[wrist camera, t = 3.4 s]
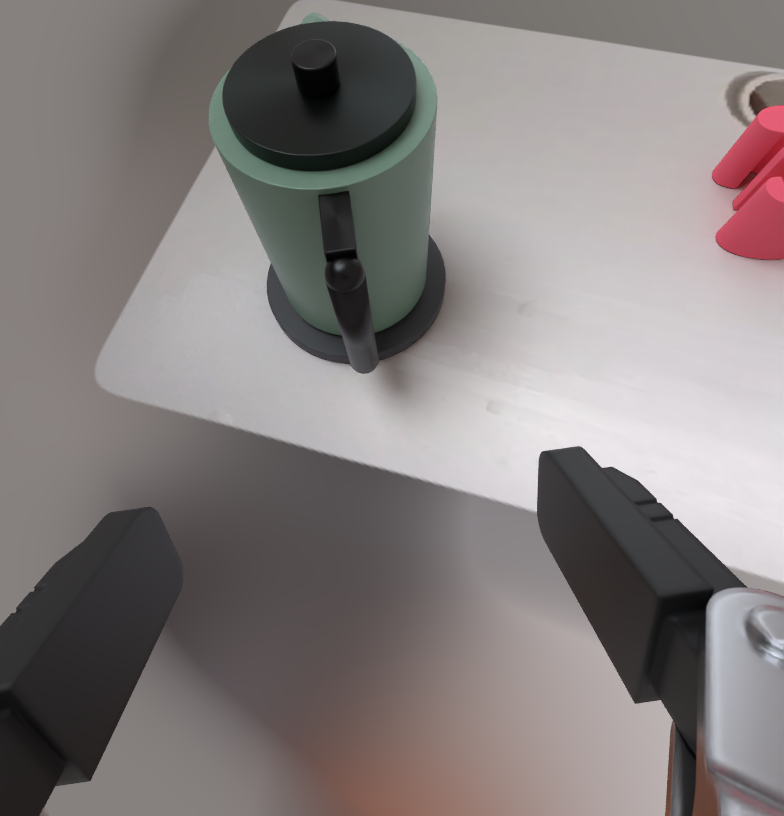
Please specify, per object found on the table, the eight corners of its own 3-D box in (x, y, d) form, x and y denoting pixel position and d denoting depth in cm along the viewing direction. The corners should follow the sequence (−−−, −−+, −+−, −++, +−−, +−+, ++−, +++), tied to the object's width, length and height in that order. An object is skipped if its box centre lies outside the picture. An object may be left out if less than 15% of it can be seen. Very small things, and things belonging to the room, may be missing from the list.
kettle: (448, 379, 29) (486, 213, 15) (291, 402, 29) (178, 256, 15) (407, 171, 35) (406, -83, 21) (279, 189, 35) (192, -55, 21)
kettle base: (395, 393, 30) (394, 387, 29) (237, 320, 33) (231, 311, 32) (472, 251, 34) (474, 241, 33) (326, 195, 37) (323, 184, 36)
